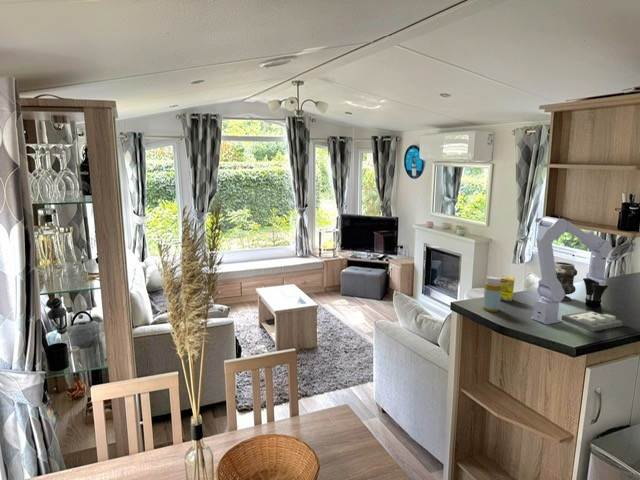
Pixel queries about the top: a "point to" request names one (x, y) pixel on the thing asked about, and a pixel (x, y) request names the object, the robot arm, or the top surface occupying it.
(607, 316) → the right button
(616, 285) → the top surface
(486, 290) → the bottle
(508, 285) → the supplement box
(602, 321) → the middle button
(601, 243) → the robot arm
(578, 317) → the button board
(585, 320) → the left button
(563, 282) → the apothecary jar
